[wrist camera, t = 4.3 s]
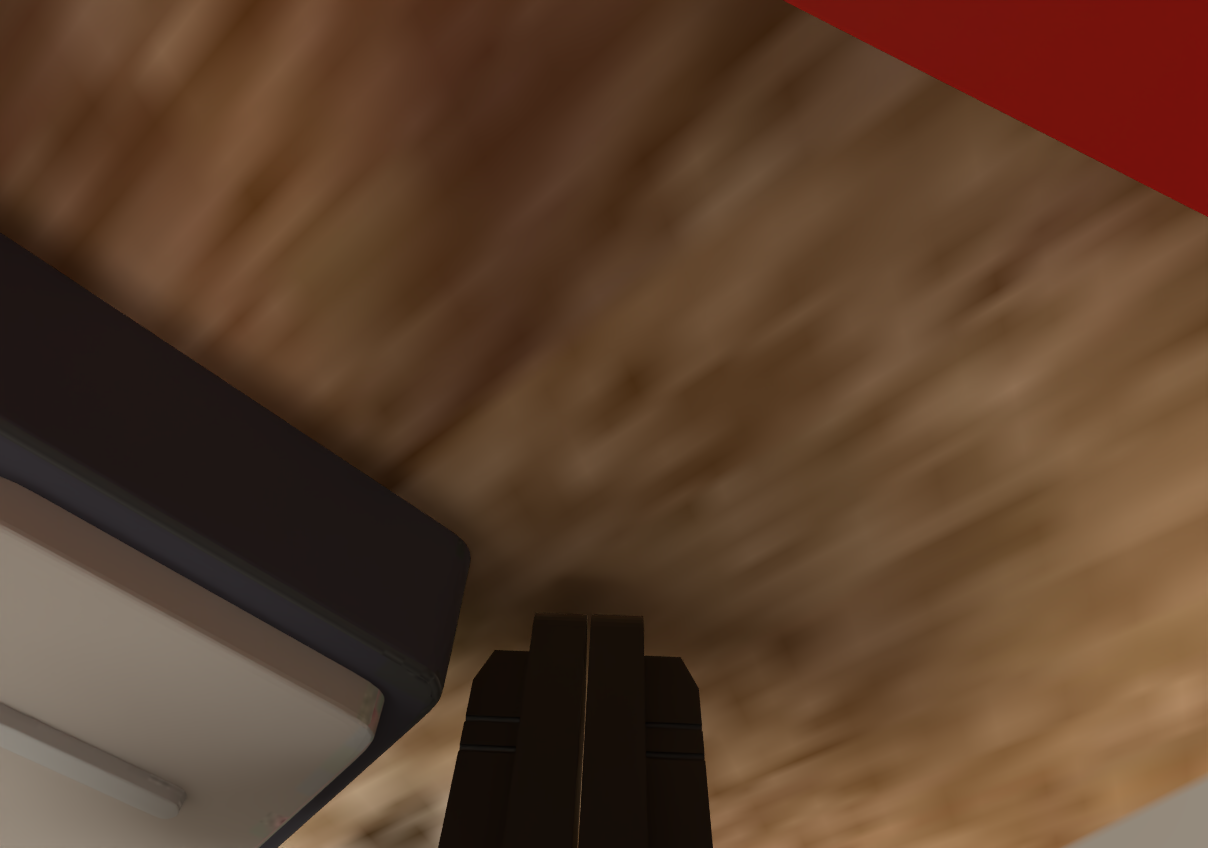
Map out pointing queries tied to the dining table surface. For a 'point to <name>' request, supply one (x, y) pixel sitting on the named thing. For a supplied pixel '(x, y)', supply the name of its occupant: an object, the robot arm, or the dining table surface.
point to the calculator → (189, 593)
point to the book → (1066, 72)
